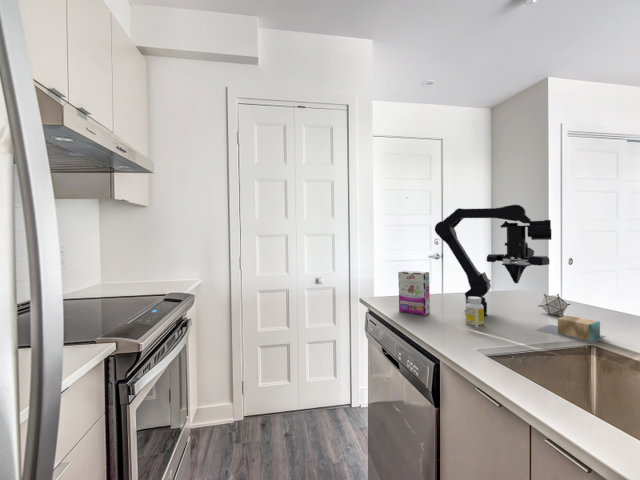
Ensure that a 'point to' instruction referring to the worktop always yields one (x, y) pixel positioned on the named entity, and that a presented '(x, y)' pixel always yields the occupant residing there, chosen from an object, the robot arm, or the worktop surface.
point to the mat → (554, 330)
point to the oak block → (579, 327)
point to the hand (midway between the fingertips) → (516, 283)
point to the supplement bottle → (474, 312)
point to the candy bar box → (414, 292)
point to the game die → (554, 305)
